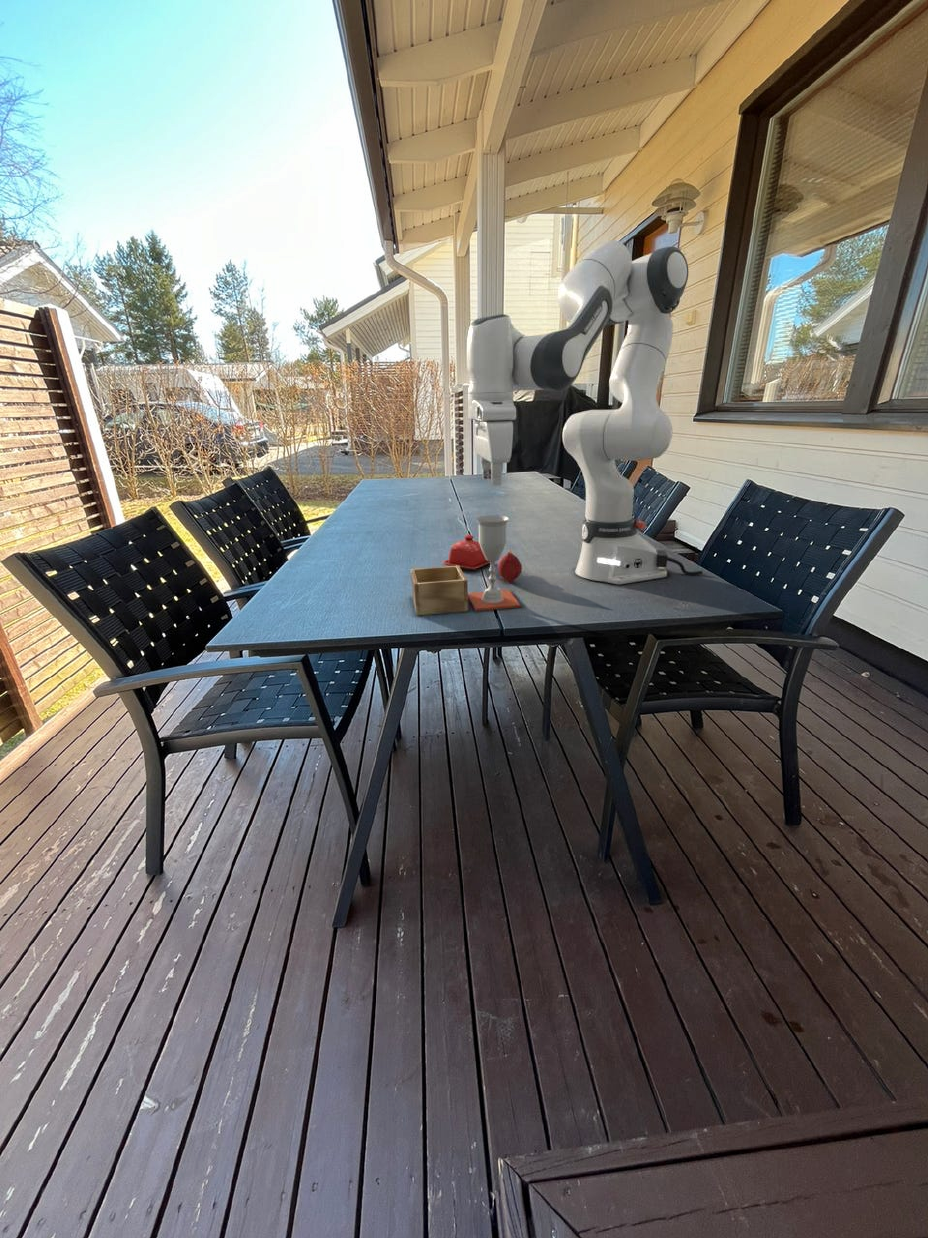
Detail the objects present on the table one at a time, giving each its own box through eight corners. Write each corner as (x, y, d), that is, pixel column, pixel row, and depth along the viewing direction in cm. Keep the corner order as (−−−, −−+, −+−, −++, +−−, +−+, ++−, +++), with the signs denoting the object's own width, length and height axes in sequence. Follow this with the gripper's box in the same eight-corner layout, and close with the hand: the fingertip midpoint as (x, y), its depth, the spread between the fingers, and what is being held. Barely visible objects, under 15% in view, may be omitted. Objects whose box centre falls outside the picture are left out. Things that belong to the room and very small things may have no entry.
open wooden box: (459, 594, 123) (458, 565, 120) (468, 611, 112) (467, 580, 110) (412, 598, 121) (410, 568, 118) (416, 615, 111) (414, 584, 108)
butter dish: (464, 557, 151) (463, 528, 148) (498, 563, 145) (498, 532, 142) (440, 567, 143) (438, 536, 140) (474, 574, 137) (474, 542, 133)
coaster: (508, 592, 123) (508, 589, 123) (520, 607, 114) (520, 604, 113) (467, 595, 121) (466, 593, 121) (475, 611, 112) (475, 608, 112)
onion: (526, 581, 130) (526, 550, 127) (511, 587, 126) (512, 555, 123) (507, 577, 133) (507, 546, 130) (493, 583, 129) (493, 551, 126)
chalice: (505, 605, 113) (506, 522, 106) (474, 603, 115) (473, 522, 108) (509, 594, 120) (510, 515, 113) (480, 592, 121) (479, 514, 114)
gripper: (466, 409, 112) (468, 475, 117) (484, 410, 93) (485, 490, 98) (495, 408, 113) (496, 474, 118) (518, 409, 94) (518, 488, 99)
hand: (491, 481), depth 108 cm, fingers open, 8 cm apart
